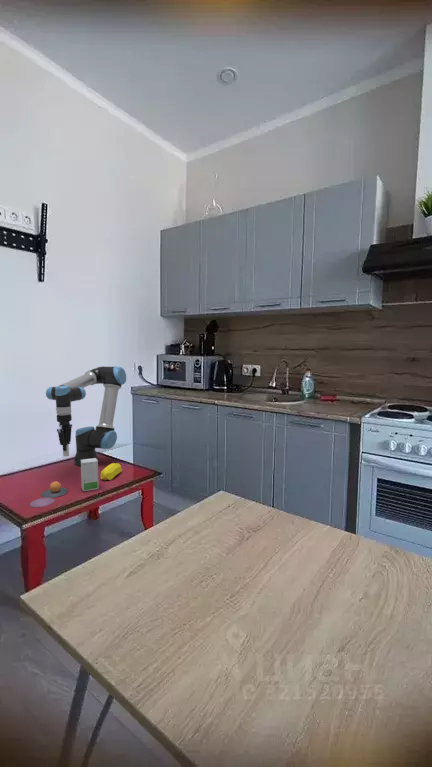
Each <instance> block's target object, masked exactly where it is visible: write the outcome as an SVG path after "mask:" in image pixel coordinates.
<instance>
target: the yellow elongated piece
mask: <svg viewBox="0 0 432 767" xmlns="http://www.w3.org/2000/svg"><path fill="white" fill-rule="evenodd" d="M122 471H123V469H122V465H121V464H120V463H119V462H118V463H117V462H116V463H115V462H112V463H110V464H108V465H107V466H106V467H105V468H103V469H102V470H101V471H100V479H101V481H102V480H103V481H107V480H109V481H112V480H113V479H114V478H115V477H116V476H117V475H119V474H120V473H121V472H122Z"/></svg>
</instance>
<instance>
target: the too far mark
mask: <svg viewBox="0 0 432 767" xmlns="http://www.w3.org/2000/svg"><path fill="white" fill-rule="evenodd" d="M54 503H55V498H44V497H41V498H37V499H36V498H35V499H34V500H33V501H31V502H29V506H30V507H31V508H44V507H48V506H50V505H52V504H54Z"/></svg>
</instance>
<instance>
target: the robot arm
mask: <svg viewBox="0 0 432 767" xmlns="http://www.w3.org/2000/svg"><path fill="white" fill-rule="evenodd" d="M126 382H127V373H126V371H125V369H124V368H123V367H122V366H98V367H96V368H93V369H89V370H88V371H86V372H85V373H84V374H83V375H80V376H78V377H76V378H74V379H71V380H69V381H67V382H64V383H62V384H60V385H58V386H49V387H48V388H46V390H45V397H46V398H47V400H51V401H55V410H56V421H57V423H59V424H58V428H57V429H56V432H57V435H58V441H59V445H60V446H62V455H63V456H62V457H69V456H70V446H69V445H70V444H71V439H72V427H73V424H72V423H71V421H72V420H73V419H72V402H77V401H81V400H83V399H85V397H86V395H87V394H86V390H85V388H87V387H88V386H94V385H97V384H98V385H99V384H101V385H103V387H104V392H103V393H104V394H103V400H102V404H101V410H100V416H99V422H98V424H97V425H96V426H95V427H94V426H85V427H81V428H78V429H76V430H75V436H74V437H75V448H76V449H75V450H76V453H75V455H74V458H73V459H74V460H73V464H74V465H75V466H78V467H79V466H80V467H81V460H83V459H92V458H96V459H97V460H98V462H99V456H98V454H97V451H96V449H101V450H102V449H103V450H111V449H112V448H113V447H115V444H116V442H117V439H118V435H117V431H115V427H114V419H115V413H116V407H117V401H118V394H119V390H120V389H122V385H124V384H126Z"/></svg>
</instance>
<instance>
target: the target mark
mask: <svg viewBox="0 0 432 767" xmlns="http://www.w3.org/2000/svg"><path fill="white" fill-rule="evenodd" d="M68 493H69V489H68V488H65V487H61V489H60V490H59V491H58V492H52V491H51V490H50V488H48V489H46V490H44V491H43V492H41V494H40V495H41V498H53V499H55V498H58V497H62V496H64V495H66V494H68Z"/></svg>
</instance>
